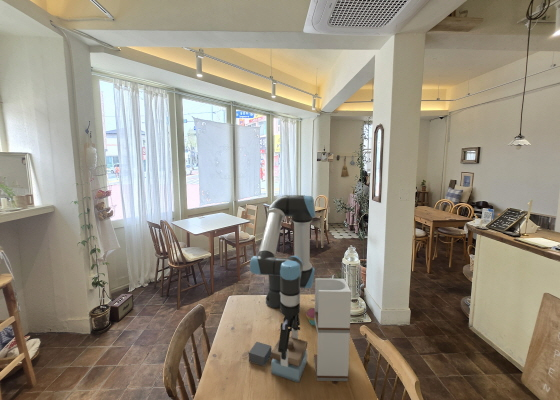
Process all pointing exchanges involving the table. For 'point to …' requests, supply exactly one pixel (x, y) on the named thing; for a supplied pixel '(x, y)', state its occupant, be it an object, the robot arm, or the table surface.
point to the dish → (289, 369)
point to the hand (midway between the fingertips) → (289, 354)
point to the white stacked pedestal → (332, 329)
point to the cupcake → (311, 316)
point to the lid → (291, 351)
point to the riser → (260, 353)
